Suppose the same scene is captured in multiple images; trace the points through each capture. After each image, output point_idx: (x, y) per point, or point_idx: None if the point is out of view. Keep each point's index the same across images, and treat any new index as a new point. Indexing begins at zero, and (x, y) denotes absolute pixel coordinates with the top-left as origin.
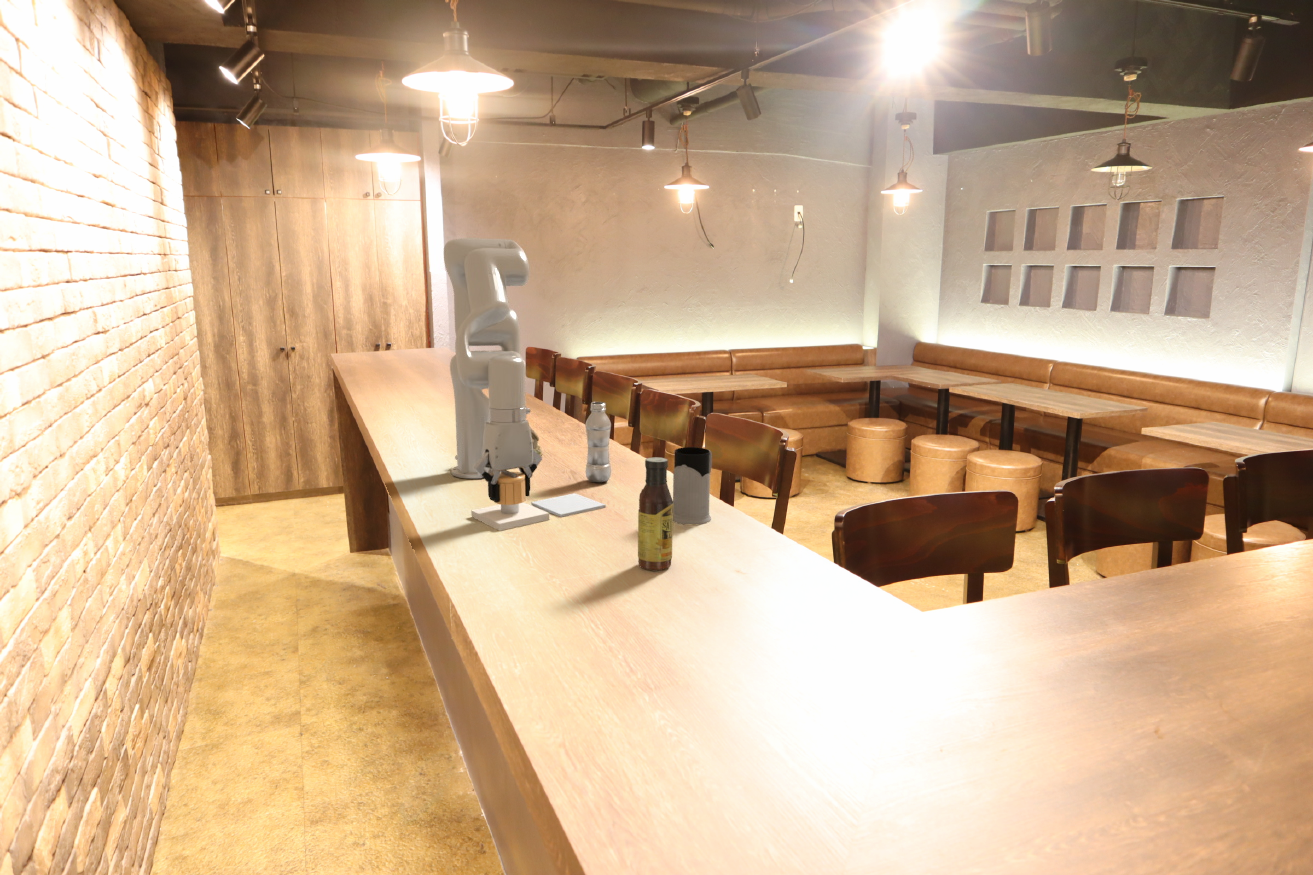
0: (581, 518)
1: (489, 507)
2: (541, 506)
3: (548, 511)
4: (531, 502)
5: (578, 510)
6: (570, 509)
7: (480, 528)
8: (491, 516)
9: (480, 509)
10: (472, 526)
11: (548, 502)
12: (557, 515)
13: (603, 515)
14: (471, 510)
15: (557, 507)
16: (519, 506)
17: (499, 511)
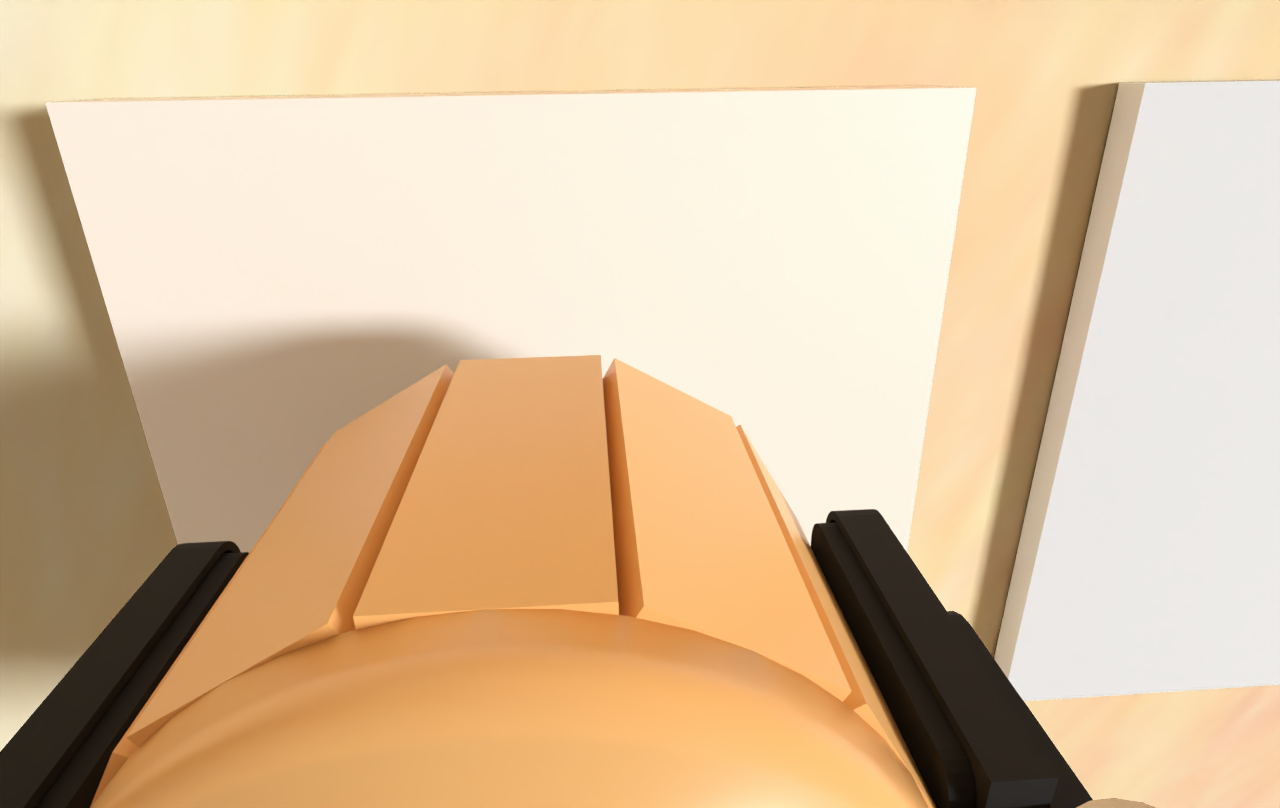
0: (1086, 782)
1: (383, 145)
2: (1081, 354)
3: (1034, 485)
4: (1140, 90)
5: (1216, 683)
6: (1194, 624)
7: (112, 575)
8: (255, 542)
9: (209, 158)
10: (36, 471)
11: (1273, 257)
12: (999, 635)
13: (1271, 802)
14: (50, 110)
15: (1168, 497)
16: (780, 368)
17: None
